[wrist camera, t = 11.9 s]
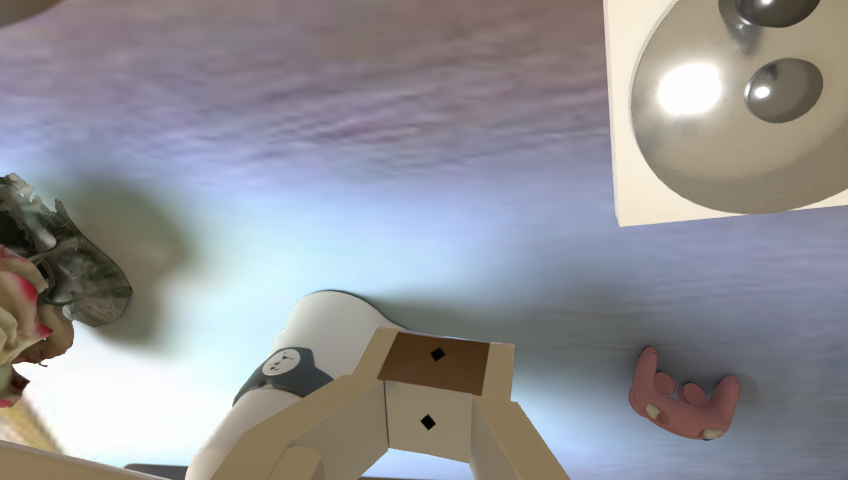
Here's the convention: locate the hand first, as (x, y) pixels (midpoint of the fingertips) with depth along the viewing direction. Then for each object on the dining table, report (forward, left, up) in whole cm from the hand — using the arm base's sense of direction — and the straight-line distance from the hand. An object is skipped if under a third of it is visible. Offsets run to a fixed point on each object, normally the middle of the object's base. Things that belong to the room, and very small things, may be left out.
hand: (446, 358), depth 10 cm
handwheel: (-2, -17, -31) cm, 35 cm away
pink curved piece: (-31, -12, -34) cm, 48 cm away
